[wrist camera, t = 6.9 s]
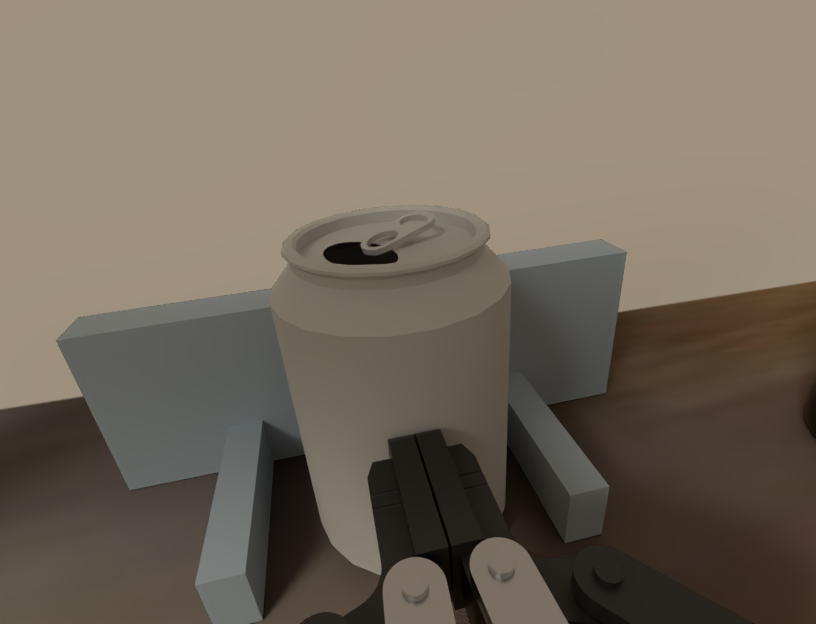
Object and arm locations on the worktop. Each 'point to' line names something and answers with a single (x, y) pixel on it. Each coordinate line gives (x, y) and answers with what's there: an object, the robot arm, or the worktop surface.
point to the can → (392, 350)
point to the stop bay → (275, 415)
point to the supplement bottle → (811, 409)
